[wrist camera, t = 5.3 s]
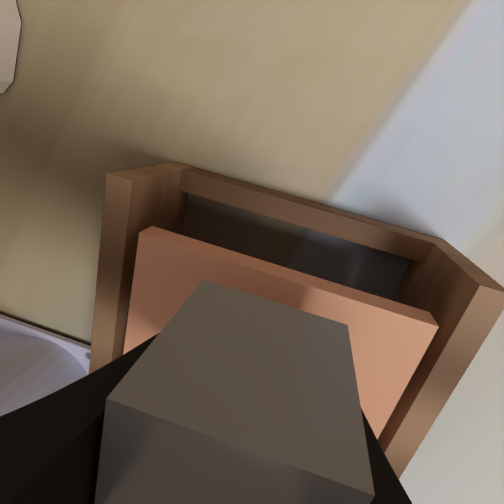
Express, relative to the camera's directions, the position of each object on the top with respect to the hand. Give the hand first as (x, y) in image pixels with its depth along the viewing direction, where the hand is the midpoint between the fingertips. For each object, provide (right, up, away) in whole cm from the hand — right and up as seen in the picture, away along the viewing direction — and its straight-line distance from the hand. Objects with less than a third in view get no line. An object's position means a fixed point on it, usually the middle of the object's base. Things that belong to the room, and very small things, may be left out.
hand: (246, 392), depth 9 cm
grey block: (0, 0, +1) cm, 1 cm away
